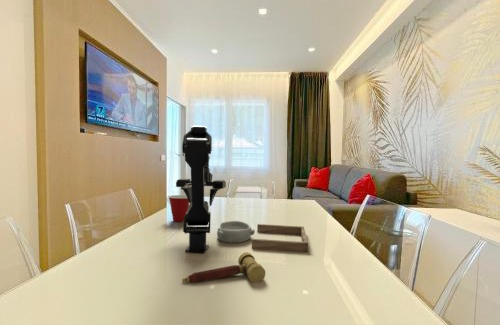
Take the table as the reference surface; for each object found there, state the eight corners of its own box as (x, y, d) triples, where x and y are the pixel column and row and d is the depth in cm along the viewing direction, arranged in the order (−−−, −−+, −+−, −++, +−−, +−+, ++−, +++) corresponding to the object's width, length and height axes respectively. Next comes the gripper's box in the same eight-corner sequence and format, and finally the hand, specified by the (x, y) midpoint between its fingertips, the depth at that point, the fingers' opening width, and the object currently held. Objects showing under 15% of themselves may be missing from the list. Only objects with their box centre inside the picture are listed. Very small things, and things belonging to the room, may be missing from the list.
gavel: (183, 280, 64) (180, 263, 73) (184, 299, 64) (181, 280, 74) (265, 264, 71) (252, 250, 80) (266, 281, 71) (253, 265, 80)
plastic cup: (194, 218, 133) (194, 194, 132) (187, 224, 122) (187, 197, 121) (173, 217, 134) (173, 193, 133) (163, 222, 123) (164, 196, 123)
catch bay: (307, 252, 92) (307, 243, 92) (251, 248, 94) (251, 239, 94) (303, 233, 112) (303, 226, 112) (257, 230, 114) (257, 223, 114)
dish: (218, 245, 97) (219, 231, 96) (213, 233, 110) (213, 221, 110) (257, 242, 101) (257, 229, 100) (247, 231, 114) (248, 219, 114)
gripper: (229, 165, 113) (228, 202, 113) (186, 164, 115) (185, 200, 116) (222, 167, 102) (221, 208, 102) (175, 165, 104) (175, 205, 105)
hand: (200, 205), depth 107 cm, fingers open, 8 cm apart
